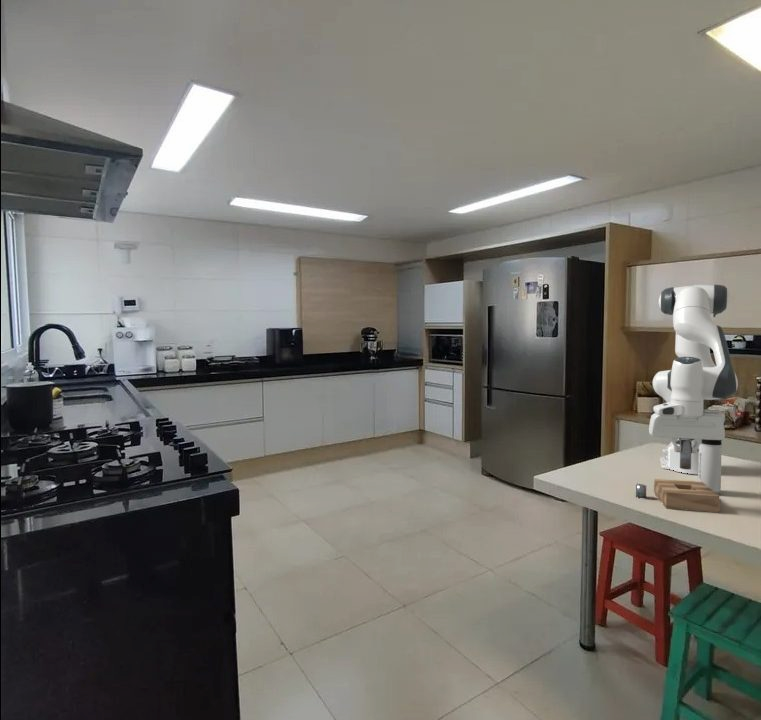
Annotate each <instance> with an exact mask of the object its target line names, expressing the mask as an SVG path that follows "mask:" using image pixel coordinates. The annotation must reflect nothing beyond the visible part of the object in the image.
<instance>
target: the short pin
mask: <svg viewBox="0 0 761 720" xmlns="http://www.w3.org/2000/svg"><path fill="white" fill-rule="evenodd" d="M637 497H638V498H637ZM635 498H637V499H640V498H646V499H647V485H646V484H643V483H636V485H635Z"/></svg>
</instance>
